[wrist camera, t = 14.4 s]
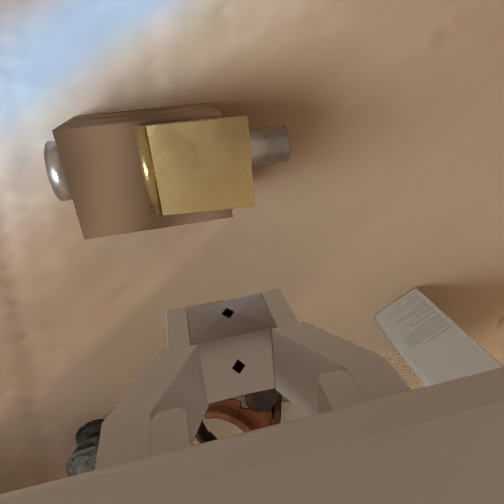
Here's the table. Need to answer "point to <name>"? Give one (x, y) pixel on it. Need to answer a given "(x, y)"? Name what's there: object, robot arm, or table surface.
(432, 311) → the skincare box
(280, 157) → the pin
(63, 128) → the hitch block
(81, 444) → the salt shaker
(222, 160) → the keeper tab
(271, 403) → the brown grey sculpted ring
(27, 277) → the table surface
